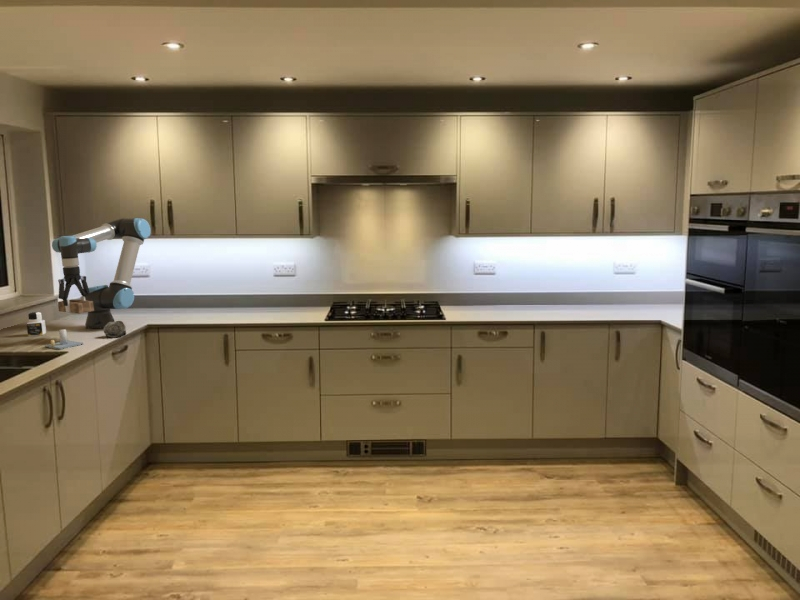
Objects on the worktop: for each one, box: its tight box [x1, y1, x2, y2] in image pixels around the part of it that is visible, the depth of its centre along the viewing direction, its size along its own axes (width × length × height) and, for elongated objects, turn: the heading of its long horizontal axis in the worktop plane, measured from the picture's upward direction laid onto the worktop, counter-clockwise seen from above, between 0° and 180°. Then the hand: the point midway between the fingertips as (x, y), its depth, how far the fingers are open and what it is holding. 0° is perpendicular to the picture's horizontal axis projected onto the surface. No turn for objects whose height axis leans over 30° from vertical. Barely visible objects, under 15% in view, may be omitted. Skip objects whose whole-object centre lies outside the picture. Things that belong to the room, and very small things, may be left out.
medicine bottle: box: [26, 311, 47, 337], centre depth 326 cm, size 7×7×12 cm
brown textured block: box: [57, 298, 94, 314], centre depth 312 cm, size 17×8×5 cm, turn 61°
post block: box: [44, 329, 84, 350], centre depth 297 cm, size 12×12×8 cm
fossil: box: [102, 320, 127, 339], centre depth 318 cm, size 11×9×10 cm
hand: (76, 310), depth 313 cm, fingers closed on brown textured block, 8 cm apart
